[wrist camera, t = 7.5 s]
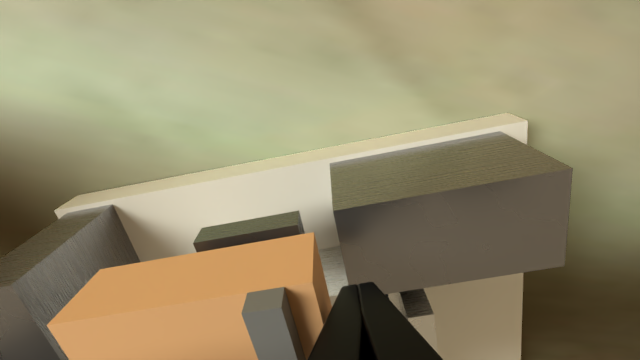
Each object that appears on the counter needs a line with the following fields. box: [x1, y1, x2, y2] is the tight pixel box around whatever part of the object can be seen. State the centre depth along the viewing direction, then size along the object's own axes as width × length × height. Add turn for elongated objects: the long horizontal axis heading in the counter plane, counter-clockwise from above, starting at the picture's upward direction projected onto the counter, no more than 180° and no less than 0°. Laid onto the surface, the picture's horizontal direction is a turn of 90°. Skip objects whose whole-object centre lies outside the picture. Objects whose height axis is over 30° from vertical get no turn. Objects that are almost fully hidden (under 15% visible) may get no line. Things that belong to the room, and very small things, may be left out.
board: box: [54, 113, 528, 360], centre depth 17 cm, size 19×18×2 cm
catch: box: [47, 232, 332, 360], centre depth 9 cm, size 6×3×3 cm, turn 101°
